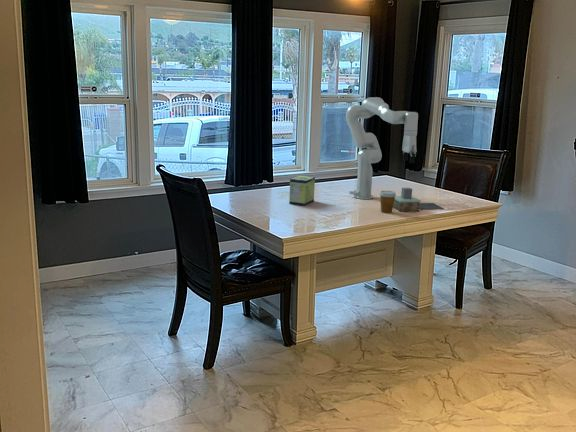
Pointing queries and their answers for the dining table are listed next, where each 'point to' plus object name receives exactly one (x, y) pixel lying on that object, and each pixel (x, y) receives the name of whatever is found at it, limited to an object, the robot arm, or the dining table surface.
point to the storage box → (406, 206)
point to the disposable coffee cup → (387, 201)
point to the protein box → (302, 190)
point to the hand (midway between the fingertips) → (408, 161)
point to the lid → (406, 196)
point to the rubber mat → (429, 206)
